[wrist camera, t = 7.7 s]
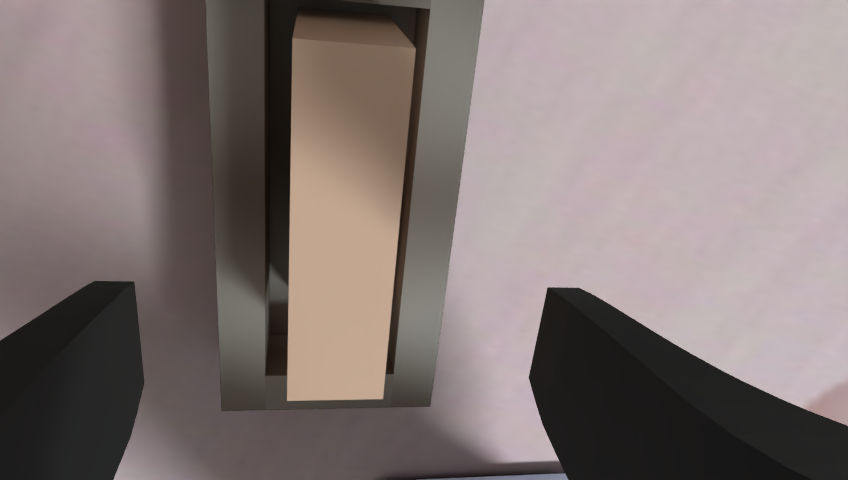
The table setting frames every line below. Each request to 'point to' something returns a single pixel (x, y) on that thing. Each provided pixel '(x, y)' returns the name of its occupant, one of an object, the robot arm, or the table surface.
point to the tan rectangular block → (345, 199)
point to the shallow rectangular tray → (270, 190)
